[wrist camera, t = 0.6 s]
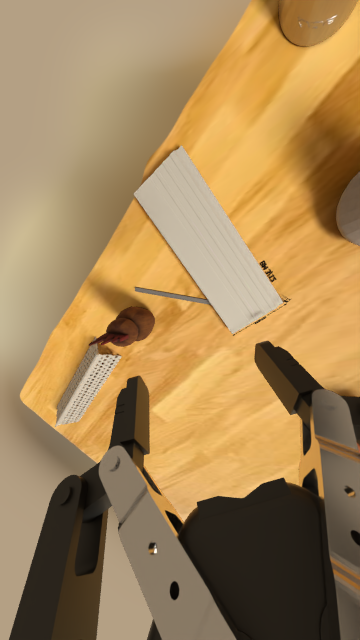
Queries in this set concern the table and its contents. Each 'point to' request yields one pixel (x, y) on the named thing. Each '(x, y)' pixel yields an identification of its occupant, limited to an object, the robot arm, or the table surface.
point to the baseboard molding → (207, 242)
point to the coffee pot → (350, 211)
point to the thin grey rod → (172, 295)
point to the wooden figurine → (128, 327)
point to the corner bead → (84, 385)
